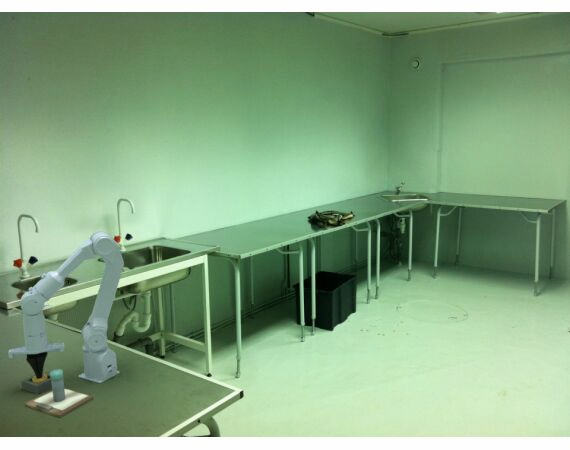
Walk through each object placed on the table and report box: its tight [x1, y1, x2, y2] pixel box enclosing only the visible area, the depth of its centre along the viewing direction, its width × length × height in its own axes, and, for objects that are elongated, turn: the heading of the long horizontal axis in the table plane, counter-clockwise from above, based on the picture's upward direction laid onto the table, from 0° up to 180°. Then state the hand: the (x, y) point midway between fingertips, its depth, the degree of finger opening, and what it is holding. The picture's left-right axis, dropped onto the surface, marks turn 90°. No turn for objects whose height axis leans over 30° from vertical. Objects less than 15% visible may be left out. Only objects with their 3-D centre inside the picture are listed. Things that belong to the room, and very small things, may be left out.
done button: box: [32, 374, 48, 383], centre depth 152 cm, size 4×4×2 cm
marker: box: [49, 368, 65, 402], centre depth 142 cm, size 3×3×8 cm
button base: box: [20, 371, 52, 395], centre depth 152 cm, size 7×7×2 cm
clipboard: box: [24, 387, 94, 418], centre depth 143 cm, size 14×11×1 cm
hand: (39, 377), depth 152 cm, fingers closed, pressing on done button
